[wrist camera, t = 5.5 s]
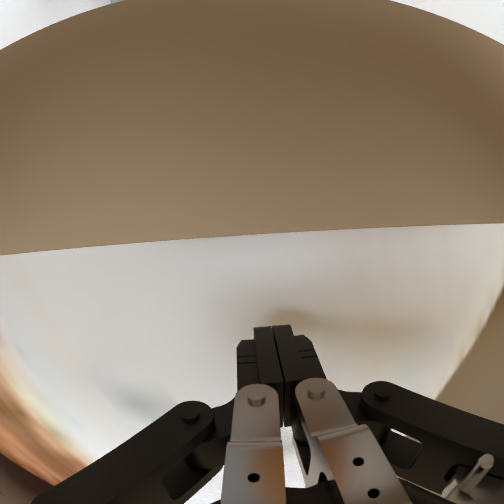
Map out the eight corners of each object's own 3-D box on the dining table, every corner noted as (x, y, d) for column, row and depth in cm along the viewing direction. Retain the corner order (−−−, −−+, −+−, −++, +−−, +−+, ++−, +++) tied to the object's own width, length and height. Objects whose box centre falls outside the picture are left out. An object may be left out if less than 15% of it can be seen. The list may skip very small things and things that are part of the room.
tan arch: (414, 178, 13) (589, 221, 4) (93, 195, 12) (-81, 264, 3) (412, 117, 12) (587, 104, 3) (88, 130, 11) (-93, 119, 2)
